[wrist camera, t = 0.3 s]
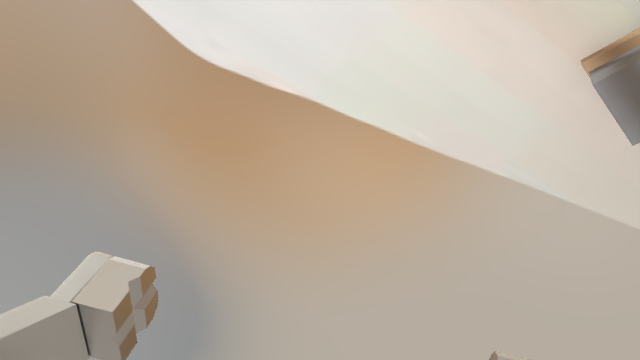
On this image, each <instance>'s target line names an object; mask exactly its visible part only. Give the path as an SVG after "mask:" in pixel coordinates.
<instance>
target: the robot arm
mask: <svg viewBox="0 0 640 360" xmlns="http://www.w3.org/2000/svg"><path fill="white" fill-rule="evenodd" d="M155 279H156V273H155V268H154V267H152V266H149V265H145V264H142V263H138V262H134V261H131V260H127V259H124V258H120V257H116V256H112V255H108V254H104V253H100V252H97V251H96V252H94V253H91V254H90V255H89V256H88V257H87V258H86V259H85V260H84V261H83V262H82V263H81V264H80V265H79V266H78V267H77V268H76V269H75V271H74V272H73V273H72V274H71V275H70V276H69V277H68V278H67V279H66V280H65V281H64V283H62V284H61V286H60V287H59V288H58V289H57V290H56V291H55V292H54V293H53V294H52V295H51V296H50V297H48V296H42V297H40V298H38V299H35V300H33V301H31V302H28V303H26V304H23V305H21V306H19V307H17V308H14V309H12V310H9V311H7V312H5V313H3V314H0V360H88V359H89V357H93V358H98V359H102V360H126V358H127V357H128V355H129V354H130V353H131V351H132V349H133V348H134V346H135V345H136V343H137V337H136V333H138V332H140V331H142V330H144V329H145V328H147V327H148V325H149V324H150V322H151V321H152V319H153V317H154V314H155V311H156V309H157V305H158V291H157V289H156V288H155V287H154V286H153V284H152V283H153V281H154V280H155ZM489 360H530V359H526V358H521V357H517V356H513V355H509V354H505V353H500V352H496V351H495V352H493V354H492V355H491V357H490V359H489Z"/></svg>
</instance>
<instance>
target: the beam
mask: <svg viewBox="0 0 640 360" xmlns="http://www.w3.org/2000/svg"><path fill="white" fill-rule="evenodd" d="M581 64H582V66H583V68H584V69H585V71H586V72H587V74H588V75H589V77H590V78H591V81H592V84H593V86H594V88H595V89H596V91H597V92H598V94H599V95H600V97H601V98H602V100H603V101H604V103H605V104H606V106H607V107H608V109H609V110H610V112H611V113H612V115H613V117H614V118H615V120H616V121H617V123H618V124H619V126H620V127H621V129H622V130H623V132H624V133H625V135H626V136H627V138H628V139H629V141H630V142H631V144H632V145H635V144H638V143H640V28H639V29H637V30H635V31H633V32H632V33H630V34H628V35H626V36H624V37H623V38H621V39H619V40H617V41H615V42H613V43H612V44H610V45H608V46H606V47H604V48H603V49H601V50H599V51H597V52H595V53H594V54H592V55H590V56H588V57H586V58H585V59H583V60H581Z"/></svg>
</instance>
